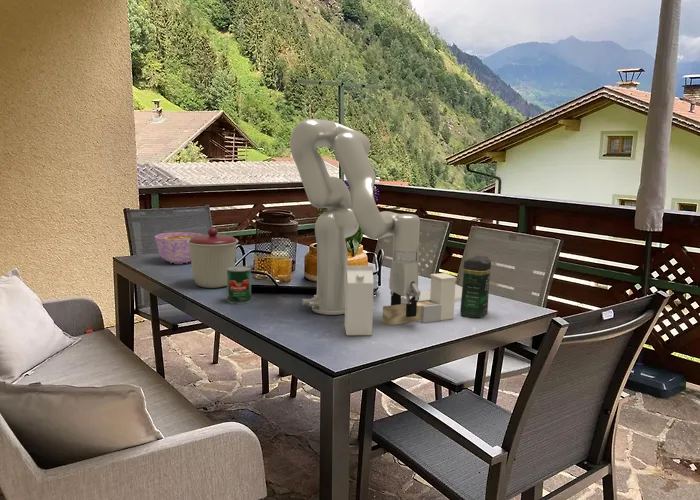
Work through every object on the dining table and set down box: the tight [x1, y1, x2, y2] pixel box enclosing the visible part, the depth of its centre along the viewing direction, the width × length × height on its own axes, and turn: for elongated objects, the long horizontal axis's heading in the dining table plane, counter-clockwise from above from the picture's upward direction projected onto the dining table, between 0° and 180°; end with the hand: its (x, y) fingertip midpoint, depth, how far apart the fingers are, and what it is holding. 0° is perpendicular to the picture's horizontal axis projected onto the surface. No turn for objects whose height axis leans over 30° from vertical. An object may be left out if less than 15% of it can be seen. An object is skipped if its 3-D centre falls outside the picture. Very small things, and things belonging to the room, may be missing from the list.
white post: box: [418, 272, 458, 324], centre depth 182 cm, size 11×7×13 cm, turn 113°
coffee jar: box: [459, 255, 492, 318], centre depth 186 cm, size 10×8×19 cm
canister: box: [187, 227, 239, 289], centre depth 215 cm, size 18×18×21 cm
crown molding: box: [401, 283, 462, 304], centre depth 204 cm, size 29×12×4 cm, turn 134°
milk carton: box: [344, 265, 375, 336], centre depth 166 cm, size 7×7×19 cm
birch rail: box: [382, 301, 433, 326], centre depth 179 cm, size 16×4×5 cm, turn 117°
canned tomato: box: [226, 265, 252, 304], centre depth 196 cm, size 8×8×11 cm
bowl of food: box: [154, 231, 203, 265], centre depth 254 cm, size 20×20×12 cm
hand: (403, 312), depth 178 cm, fingers open, 9 cm apart
